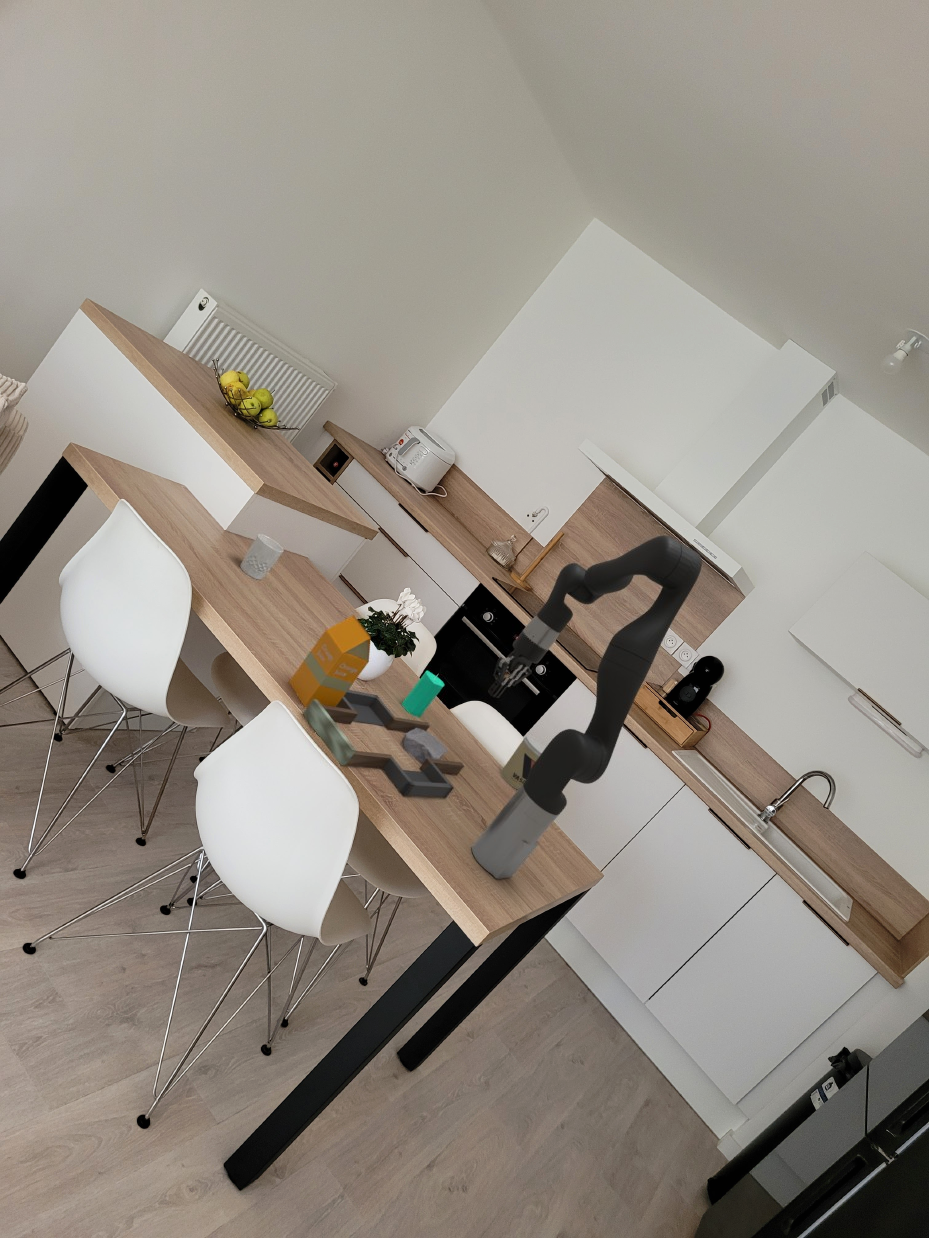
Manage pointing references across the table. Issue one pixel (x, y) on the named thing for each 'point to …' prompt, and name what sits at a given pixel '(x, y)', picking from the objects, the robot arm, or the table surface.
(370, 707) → the tray
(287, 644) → the table surface
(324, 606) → the table surface
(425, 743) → the stone block
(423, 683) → the candle
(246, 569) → the white cup
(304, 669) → the orange juice
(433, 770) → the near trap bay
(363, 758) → the corridor
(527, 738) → the beige canister
